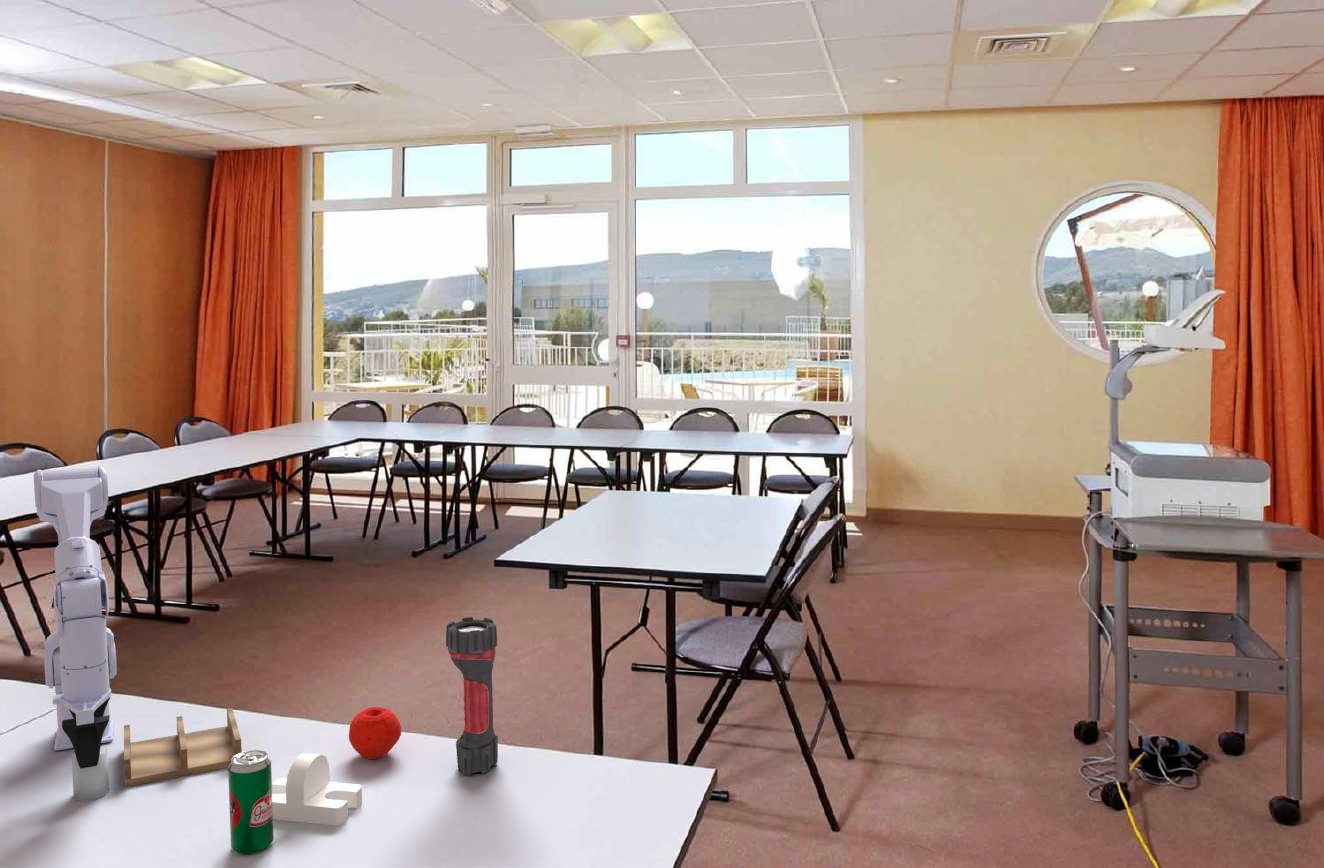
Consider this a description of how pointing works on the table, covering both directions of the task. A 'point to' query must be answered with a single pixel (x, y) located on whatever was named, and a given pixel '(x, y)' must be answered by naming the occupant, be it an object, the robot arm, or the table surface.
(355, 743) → the apple
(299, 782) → the slotted bracket
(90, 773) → the cylinder
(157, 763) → the rack
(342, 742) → the table surface
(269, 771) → the soda can
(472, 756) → the flashlight
